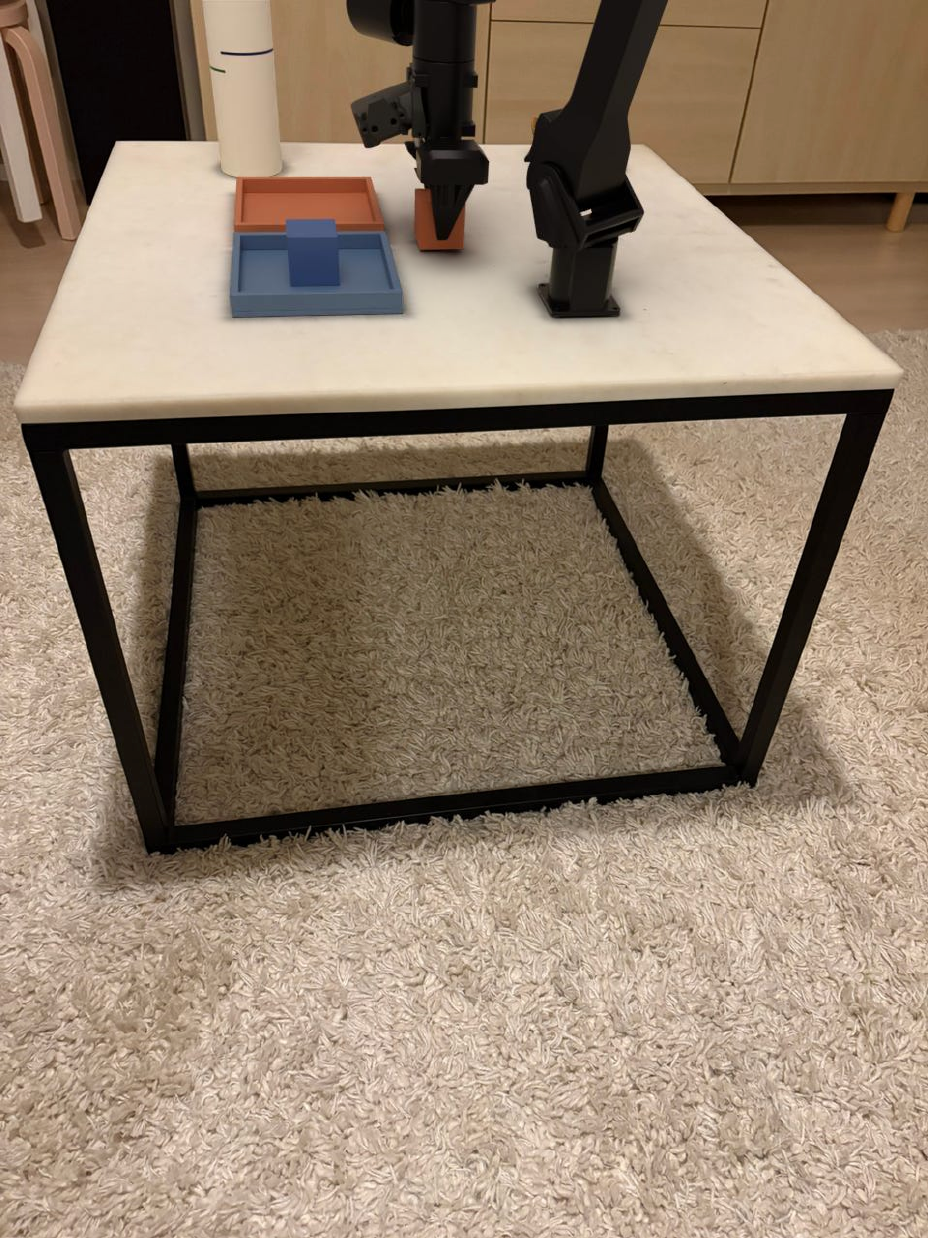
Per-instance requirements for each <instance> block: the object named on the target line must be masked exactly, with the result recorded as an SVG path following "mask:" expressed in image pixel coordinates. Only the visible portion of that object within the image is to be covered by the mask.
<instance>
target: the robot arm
mask: <svg viewBox="0 0 928 1238" xmlns="http://www.w3.org/2000/svg"><path fill="white" fill-rule="evenodd" d="M345 1H346V2H345V5H346V13H347V17H348V19H349V22H350V24H351V27H353V29H354V30H355V31H356V32H357V33H359V34H360V35H362V36H365V37H369V38H373V39H376V40H379V41H383V42H387V43H391V44H394V45H397V46H402V47H408V48H409V47H412V51H411V53H412V56H411V61H412V62H409V63H408V65H409V66H406V68H405V81H404V82H401V83H397V84H395V85H391V86H388V87H386V88H383V89H380V90H378V91H375V92H373V93H371V94H367V95H365V96H363V97H360V98H357V99H355V100H354V101H352V102H351V103H350V105H349V106H350V109H351V113H352V114H351V115H352V117H353V119H354V121H355V125H356V127H357V130H358V133H359V135H360V138H361V142H362V145H363V147H364V148H365V149H373V148H377V147H378V146H380V145H381V143H382V142H385V141H388V140H390V139H392V138H395V137H398V136H400V135H401V136H409V131H410V136H411V138H412V140H405V141H403V144H404V146H405V149H406V151H407V153H408V154H409V155H410V156H411V157H412V159H413V160H414V161H415V165H416V167H413V171H414V173H415V175H416V178H417V179H418V181H419V183H420V184H423V188H429V190H430V197H431V204H432V211H433V218H434V225H435V232H436V238H437V240H447V239H448V238H449V236H450V234H451V232H452V230H453V228H454V225H455V223H456V221H457V219H458V217H459V215H460V213H461V211H462V209H463V207H464V205H465V206H466V203H467V201H468V199H469V197H470V195H471V194H472V192H473V190H474V188H475V186H485V185H486V184H489V174H490V160H489V158H488V156H487V154H486V153H485V151H484V149H482V147H481V146H480V145H479V144H478V143H477V142H476V140H475V139H464V138H476V130H477V129H476V128H477V125H476V123H475V122H474V120H473V109H474V108H473V105H474V89H478V88H479V75H478V73H477V72H476V70H475V65H476V63H475V62H476V43H477V24H478V23H477V21H478V6H480V5H489V4H495V3H496V2H497V0H345ZM668 2H669V0H600V2H599V5H598V8H597V11H596V15H595V17H594V21H593V24H592V28H591V31H590V34H589V38H588V41H587V44H586V47H585V51H584V54H583V56H582V61H581V63H580V67H579V70H578V73H577V77H576V80H575V83H574V87H573V89H572V92H571V95H570V98H569V99H568V101H567V102H566V103H565V105H564V106H563V108H558V109H553V110H550V111H545V112H540V114H539V115H538V117H537V118H538V119H537V122H536V124H535V130H534V137H533V136H532V142H531V145H530V148H529V150H528V152H527V154H526V155H525V156H524V158H523V162H524V163H528V166H527V170H526V176H525V187H526V189H527V190H528V191H529V199H530V204H531V210H532V215H533V216H532V217H533V222H534V230H535V236H536V239H538V240H540V241H543V242H545V243H546V244H547V245H548V248H551V249H552V251H551V253H552V254H551V262H550V271H549V279H548V280H549V282H541V283H538V284H537V288H536V289H537V291H538V293H539V296H540V298H541V299H542V301H543V303H544V305H545V306H546V308H547V311H548V312H549V314H550V315H551V317H552V316H553V317H560V318H561V317H593V316H594V317H595V316H596V317H597V316H598V317H599V316H619V315H620V314H621V309H622V308H621V307H620V306H619V304H618V302H617V301H616V299H615V298H614V297H613V295H612V293H611V291H612V285H613V279H614V271H615V265H616V259H617V252H618V245H619V237H620V236H623V235H626V234H632V233H634V232H636V231H637V230H638V227H639V226H640V224H641V222H642V219H643V217H644V215H645V210H644V207H643V205H642V203H641V201H640V199H639V198H638V195H637V193H636V191H635V189H634V187H633V185H632V183H631V181H630V179H629V176H628V174H627V168H628V164H629V159H630V155H631V150H632V144H631V143H632V142H631V133H630V126H629V125H630V124H629V112H630V108H631V105H632V103H633V100H634V98H635V95H636V91H637V89H638V87H639V84H640V81H641V78H642V75H643V72H644V69H645V67H646V65H647V61H648V59H649V55H650V53H651V50H652V47H653V44H654V42H655V39H656V37H657V33H658V31H659V28H660V25H661V22H662V19H663V16H664V13H665V11H666V9H667V6H668ZM462 138H463V139H462ZM589 210H590V213H586V214H584V215H582V213H584V212H587V211H589Z"/></svg>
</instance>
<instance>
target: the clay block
mask: <svg viewBox="0 0 928 1238" xmlns="http://www.w3.org/2000/svg"><path fill="white" fill-rule="evenodd" d="M413 215H414V220H413V221H414V222H413V224H414V225H413V226H414V227H413V233H414V236H415V237H414V238H415V240H416V243H417V245H418V249H419V250H420V251H421V250H423V251H424V250H464V249H465V248H464V245H465V226H466V225H465V224H466V223H465V222H466V204H465V205H464V207H463V209H462V211H461V213H460V215H459V217H458V219H457V221H456V223H455V225H454V228H453V230H452V232H451V234H450V236H449V238H448V239H447V240H437V238H436V232H435V225H434V218H433V211H432V204H431V197H430V190H429V188H424V187H422V188H417V187H416V188H414V213H413Z"/></svg>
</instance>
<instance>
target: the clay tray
mask: <svg viewBox="0 0 928 1238" xmlns="http://www.w3.org/2000/svg"><path fill="white" fill-rule="evenodd" d="M235 179H236V181H235V194H234V195H235V196H234V212H233V213H234V214H233V231H234V232H233V233H241V232H286V219H335V223H336V229H337V232H348V231H385V223H384V222H385V221H384V219H383V215H382V211H381V208H380V205H379V200H378V197H377V194H376V189H375V186H374V182H373V179H372V176H270V177H235Z"/></svg>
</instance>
